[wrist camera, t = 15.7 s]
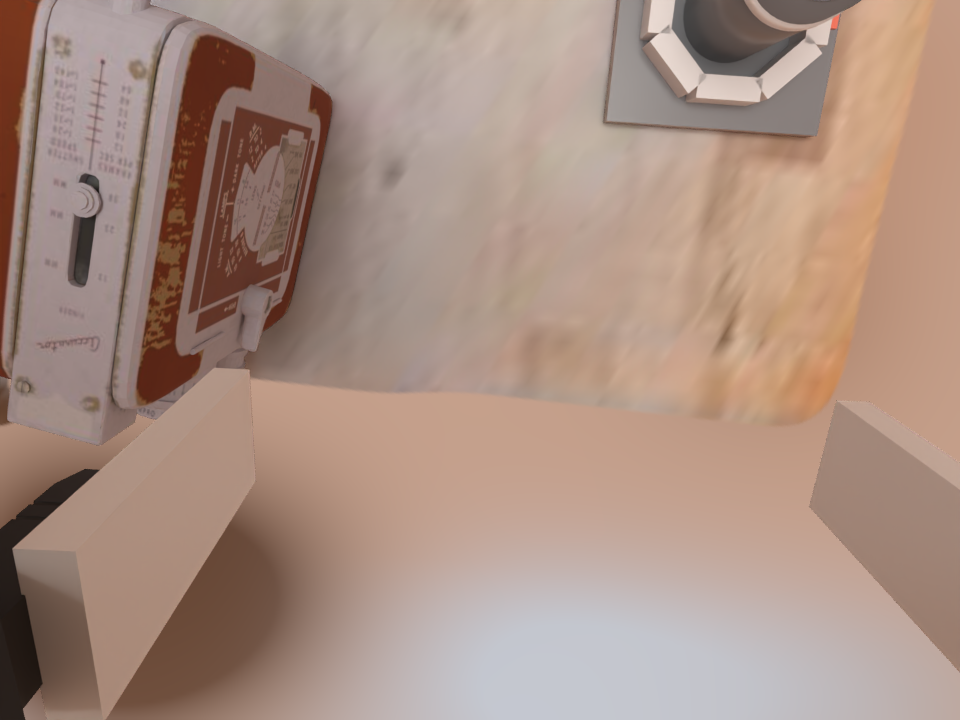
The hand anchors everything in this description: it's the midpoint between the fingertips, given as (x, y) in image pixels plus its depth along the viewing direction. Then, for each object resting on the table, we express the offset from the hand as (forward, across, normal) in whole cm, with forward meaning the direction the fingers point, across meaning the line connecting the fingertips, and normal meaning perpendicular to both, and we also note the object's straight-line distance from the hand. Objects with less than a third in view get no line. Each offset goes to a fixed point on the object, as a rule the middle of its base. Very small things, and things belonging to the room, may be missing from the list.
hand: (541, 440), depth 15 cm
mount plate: (+28, +12, +14) cm, 33 cm away
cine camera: (+28, -15, 0) cm, 32 cm away
